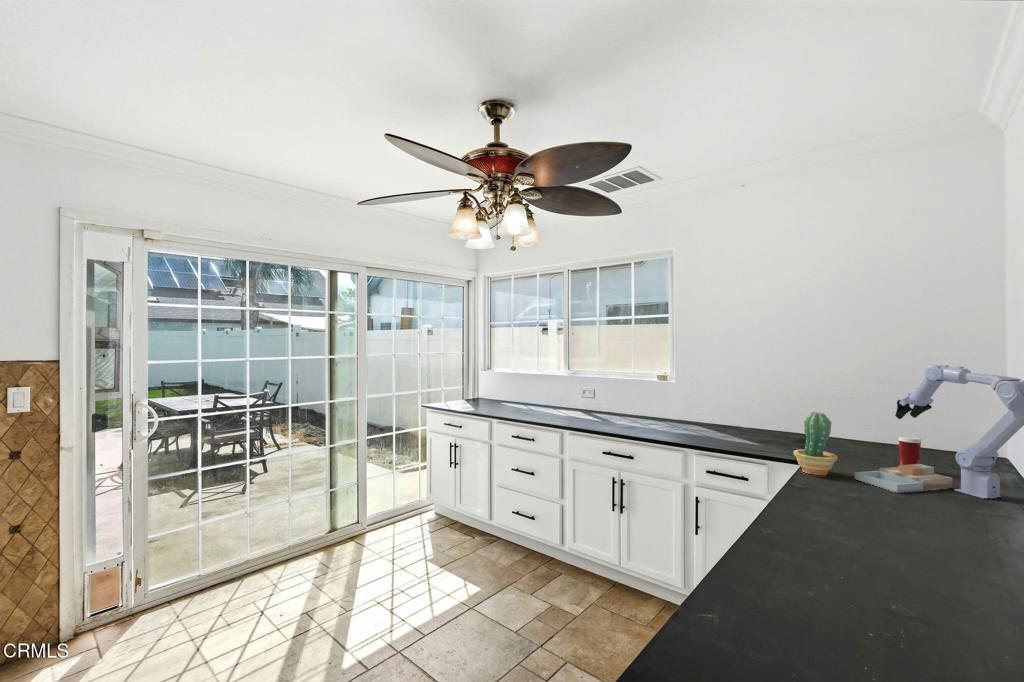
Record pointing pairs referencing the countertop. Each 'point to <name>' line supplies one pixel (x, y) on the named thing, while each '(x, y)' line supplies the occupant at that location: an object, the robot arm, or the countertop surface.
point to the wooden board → (923, 479)
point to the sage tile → (925, 468)
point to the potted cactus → (816, 445)
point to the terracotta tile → (911, 469)
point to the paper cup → (909, 450)
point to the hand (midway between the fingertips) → (905, 416)
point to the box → (889, 481)
